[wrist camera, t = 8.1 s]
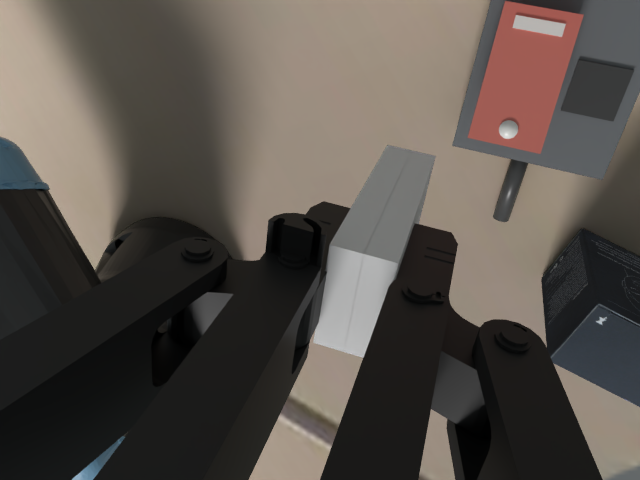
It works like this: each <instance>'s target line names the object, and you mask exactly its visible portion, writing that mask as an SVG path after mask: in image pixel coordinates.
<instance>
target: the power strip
mask: <svg viewBox="0 0 640 480" xmlns="http://www.w3.org/2000/svg"><path fill="white" fill-rule="evenodd" d="M505 1H509V2H515V3H520V4H526V5H532V6H537V7H543V8H548V9H554V10H560V11H565V12H571V13H577V14H582V15H584V16H583V19H582V22H581V26H580V29H579V32H578V35H577V38H576V42H575V45H574V48H573V51H572V55H571V58H570V61H569V64H568V67H567V71H566V74H565V77H564V80H563V83H562V87H561V90H560V93H559V96H558V99H557V103H556V106H555V109H554V112H553V115H552V119H551V122H550V125H549V128H548V132H547V135H546V138H545V141H544V144H543V148H542V151H541V154H538V153H533V152H529V151H524V150H520V149H515V148H511V147H507V146H502V145H498V144H493V143H489V142H484V141H480V140H475V139H471V138H468V134H469V130H470V126H471V123H472V119H473V115H474V112H475V108H476V104H477V101H478V97H479V93H480V90H481V86H482V82H483V79H484V75H485V72H486V68H487V64H488V61H489V57H490V53H491V50H492V46H493V42H494V39H495V35H496V31H497V28H498V24H499V20H500V17H501V13H502V9H503V6H504V3H505ZM639 92H640V0H491V2H490V6H489V10H488V13H487V17H486V21H485V25H484V28H483V32H482V36H481V40H480V43H479V47H478V51H477V55H476V58H475V62H474V66H473V70H472V73H471V77H470V81H469V85H468V89H467V92H466V96H465V100H464V104H463V107H462V111H461V115H460V119H459V122H458V126H457V130H456V134H455V137H454V141H453V145H452V146H456V147H460V148H465V149H469V150H473V151H478V152H482V153H487V154H491V155H495V156H500V157H504V158H509V159H512V160H511V163H510V166H509V169H508V172H507V175H506V178H505V181H504V184H503V187H502V190H501V193H500V196H499V199H498V202H497V205H496V209H495V212H494V215H493V217H494V218H495V219H496V220H498V221H502V222H507V221H508V220H509V217H510V214H511V212H512V209H513V206H514V203H515V200H516V197H517V194H518V191H519V188H520V185H521V183H522V180H523V177H524V174H525V171H526V168H527V165H528V163H531V164H535V165H539V166H544V167H548V168H553V169H557V170H561V171H566V172H570V173H575V174H579V175H583V176H588V177H592V178H596V179H601V180H603V177H604V175H605V173H606V170H607V168H608V166H609V163H610V161H611V158H612V156H613V154H614V151H615V149H616V147H617V144H618V142H619V140H620V137H621V135H622V132H623V130H624V128H625V125H626V123H627V121H628V118H629V116H630V113H631V111H632V109H633V106H634V104H635V102H636V99H637V97H638V95H639Z"/></svg>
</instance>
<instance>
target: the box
mask: <svg viewBox="0 0 640 480" xmlns="http://www.w3.org/2000/svg"><path fill="white" fill-rule="evenodd" d="M542 293H543V304H544V317H545V329H546V342H547V350H548V352H549V355H550V357H551V360H552V362H553V363H554V364H556V365H558V366H560V367H562V368H564V369H566V370H568V371H570V372H572V373H574V374H576V375H578V376H580V377H582V378H584V379H586V380H588V381H590V382H592V383H594V384H596V385H598V386H600V387H602V388H603V389H605V390H607V391H610V392H611V393H613V394H615V395H617V396H619V397H621V398H623V399H625V400H627V401H629V402H631V403H633V404H635V405H637V406H639V407H640V257H639V256H637V255H635V254H633V253H631V252H629V251H627V250H625V249H623V248H621V247H619V246H617V245H615V244H613V243H611V242H609V241H607V240H605V239H603V238H601V237H599V236H597V235H595V234H593V233H591V232H589V231H587V230H585V229H581V230H580V231H579V232H578V234H577V235H576V236H575V237H574V238H573V239H572V241H571V242H570V243H569V244H568V246H567V247H566V248H565V249H564V251H563V252H562V253H561V255H560V256H559V257H558V258H557V259H556V261H555V262H554V263H553V265H552V266H551V267H550V268H549V270H548V271H547V272H546V273H545V274H544V275H543V277H542Z"/></svg>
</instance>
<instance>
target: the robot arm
mask: <svg viewBox="0 0 640 480" xmlns="http://www.w3.org/2000/svg"><path fill="white" fill-rule="evenodd" d="M435 157H436V156H434V155H430V154H425V153H421V152H417V151H412V150H408V149H404V148H399V147H395V146H391V145H387V147H386V148H385V150H384V152H383V154H382V155H381V157H380V159H379V161H378V162H377V164H376V166H375V167H374V169H373V171H372V173H371V174H370V176H369V178H368V179H367V181H366V183H365V185H364V186H363V188H362V190H361V191H360V193H359V195H358V197H357V198H356V200H355V202H354V203H353V205H352V207H351V208H347V207H343V206H340V205H336V204H332V203H328V202H321V203H319V204H317V205H315V206H313V207H311V208H310V209H309V211H308V212H307V213H306V215H305V214H298V213H284V214H280V215H276V216H274V217H272V218H271V219H270V220H269V221H268V232H267V242H266V252H265V253H264V255H263V256H262V257H261V259H260V260H256V261H242V260H233V259H232V258H231V256H230V255H229V254H228V251H227V249H226V248H225V246H224V245H222V244H221V243H219V242H218V241H216V240H214V239H213V238H212V237H211V236H209V235H208V234H206V233H205V232H203V231H202V230H200V229H198V228H196V227H195V226H192V225H190V224H188V223H185V222H182V221H179V220H175V219H170V218H158V217H157V218H148V219H143V220H140V221H138V222H136V223H134V224H132V225H130V226H129V227H128V228H126V229H125V230H124V231H123V232H121V233H120V234H119V235H117V236H116V237H115V238H114V239H113V240H112V241H111V242H110V244H109V245H108V246H107V248H106V250H105V252H104V253H103V255H102V257H101V259H100V261H99V263H98V265H97V267H96V269H95V270H94V268H93V267H92V265H91V263H90V262H89V260H88V258H87V257H86V255H85V253H84V252H83V250H82V248H81V247H80V245H79V243H78V241H77V240H76V238H75V236H74V235H73V233H72V231H71V230H70V228H69V226H68V224H67V223H66V221H65V219H64V217H63V216H62V214H61V212H60V210H59V209H58V207H57V205H56V203H55V201H54V200H53V198H52V196H51V194H50V193H49V191H48V190H49V189H50V188H49V186H48V185H47V184H46V183H44V182H43V181H42V180H41V179H40V177H39V176H38V174H37V173H36V171H35V170H34V168H33V167H32V165H31V164H30V162H29V161H28V159H27V158H26V156H25V155H24V153H23V151H22V150H21V149H20V148H19V147H18V146H17V145H16V144H15V143H13V142H12V141H10V140H8V139H6V138H2V137H0V480H249V477H250V475H251V473H252V471H253V469H254V467H255V465H256V463H257V461H258V459H259V456H260V454H261V452H262V450H263V448H264V446H265V444H266V442H267V440H268V438H269V436H270V433H271V431H272V429H273V427H274V425H275V423H276V421H277V419H278V417H279V415H280V413H281V410H282V408H283V406H284V404H285V402H286V400H287V398H288V396H289V394H290V392H291V389H292V387H293V385H294V383H295V381H296V379H297V377H298V375H299V373H300V371H301V369H302V366H303V364H304V362H305V360H306V358H307V355H308V348H309V342H310V339H311V337H312V335H313V333H314V331H315V336H314V342H313V343H316V344H320V345H323V346H326V347H329V348H333V349H336V350H339V351H343V352H346V353H349V354H352V355H356V356H359V357H362V358H363V361H362V363H361V366H360V369H359V372H358V375H357V378H356V380H355V383H354V386H353V389H352V392H351V394H350V397H349V400H348V403H347V406H346V408H345V411H344V414H343V417H342V420H341V423H340V425H339V428H338V431H337V434H336V437H335V439H334V442H333V445H332V448H331V451H330V453H329V456H328V459H327V462H326V465H325V467H324V470H323V473H322V476H321V479H320V480H418V478H419V472H420V466H421V461H422V455H423V450H424V444H425V438H426V433H427V427H428V422H429V416H430V410H431V409H432V410H434V411H436V412H437V413H439V414H441V415H442V416H444V417H446V418H447V433H448V439H449V444H450V450H451V456H452V462H453V468H454V474H455V480H602V477H601V475H600V473H599V470H598V468H597V465H596V463H595V461H594V458H593V456H592V454H591V451H590V449H589V447H588V444H587V442H586V440H585V437H584V435H583V433H582V430H581V428H580V425H579V423H578V421H577V418H576V416H575V414H574V411H573V409H572V407H571V404H570V402H569V400H568V397H567V395H566V392H565V390H564V388H563V385H562V383H561V381H560V378H559V376H558V374H557V371H556V369H555V367H554V364H553V362H552V360H551V357H550V355H549V352H548V350H547V348H546V345H545V344H544V342H543V341H542V340H541V338H540V337H539V336H538V335H537V334H536V333H534V332H533V331H532V330H531V329H529V328H527V327H525V326H523V325H521V324H519V323H516V322H512V321H508V320H490V321H487V322H485V323H484V324H483V325H482V326H481V327H478V326H476V325H474V324H472V323H470V322H468V321H467V320H465V319H463V318H462V317H461V316H460V315H458V314H457V313H456V312H455V311H454V309H453V308H452V307H451V305H450V301H449V290H450V285H451V279H452V274H453V268H454V262H455V256H456V251H457V246H458V243H457V242H456V240H455V238H454V236H453V234H452V233H451V232H447V231H443V230H439V229H435V228H431V227H427V226H423V225H419V220H420V216H421V212H422V208H423V204H424V200H425V196H426V192H427V188H428V184H429V180H430V176H431V172H432V169H433V165H434V161H435ZM315 329H316V330H315Z"/></svg>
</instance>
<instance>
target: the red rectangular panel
mask: <svg viewBox="0 0 640 480" xmlns="http://www.w3.org/2000/svg"><path fill="white" fill-rule="evenodd" d="M583 16H584V15H582V14H577V13H571V12H565V11H560V10H554V9H548V8H543V7H537V6H532V5H526V4H520V3H515V2H509V1H505V3H504V6H503V9H502V13H501V17H500V20H499V24H498V28H497V31H496V35H495V39H494V42H493V46H492V50H491V53H490V57H489V61H488V64H487V68H486V72H485V75H484V79H483V82H482V86H481V90H480V93H479V97H478V101H477V104H476V108H475V112H474V115H473V119H472V123H471V126H470V130H469V134H468V138H471V139H475V140H480V141H484V142H489V143H493V144H498V145H502V146H507V147H511V148H515V149H520V150H524V151H529V152H533V153H538V154H541V151H542V148H543V144H544V141H545V138H546V135H547V132H548V128H549V125H550V122H551V119H552V115H553V112H554V109H555V106H556V103H557V99H558V96H559V93H560V90H561V87H562V83H563V80H564V77H565V74H566V71H567V67H568V64H569V61H570V58H571V55H572V51H573V48H574V45H575V42H576V38H577V35H578V32H579V29H580V26H581V22H582V19H583Z"/></svg>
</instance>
